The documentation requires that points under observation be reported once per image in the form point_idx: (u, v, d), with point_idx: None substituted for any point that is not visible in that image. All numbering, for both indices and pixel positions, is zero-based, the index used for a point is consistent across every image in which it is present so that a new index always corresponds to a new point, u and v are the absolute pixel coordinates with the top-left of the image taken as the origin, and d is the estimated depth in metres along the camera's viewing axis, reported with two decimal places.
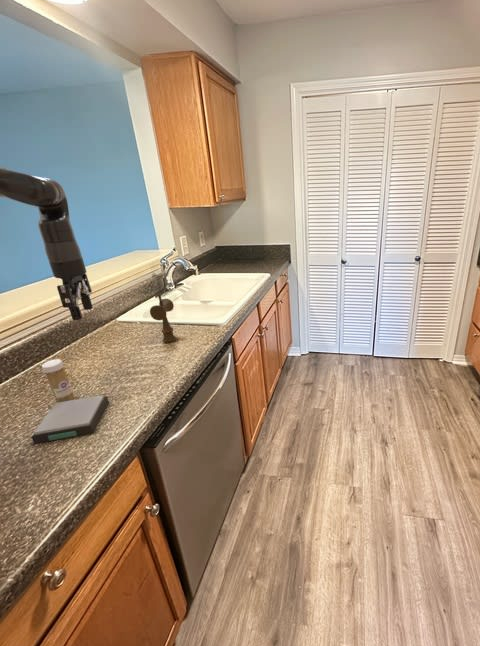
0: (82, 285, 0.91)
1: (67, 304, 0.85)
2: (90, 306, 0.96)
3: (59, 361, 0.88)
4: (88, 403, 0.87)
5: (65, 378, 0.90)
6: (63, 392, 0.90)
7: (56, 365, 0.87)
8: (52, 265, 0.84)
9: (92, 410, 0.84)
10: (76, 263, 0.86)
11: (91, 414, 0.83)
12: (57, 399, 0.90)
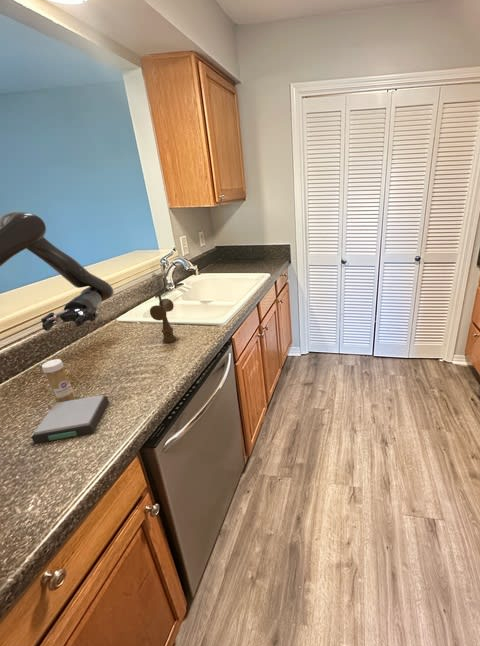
0: (69, 320, 1.03)
1: (93, 316, 1.02)
2: (48, 329, 0.96)
3: (59, 361, 0.88)
4: (88, 403, 0.87)
5: (65, 378, 0.90)
6: (63, 392, 0.90)
7: (56, 365, 0.87)
8: (88, 301, 1.09)
9: (92, 410, 0.84)
10: None
11: (91, 414, 0.83)
12: (57, 399, 0.90)
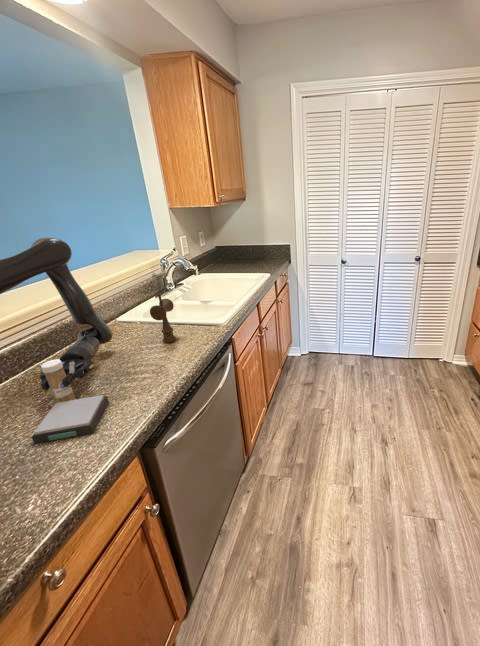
0: (66, 374, 0.96)
1: (82, 372, 0.94)
2: (48, 388, 0.89)
3: (58, 361, 0.88)
4: (88, 403, 0.87)
5: None
6: (63, 392, 0.90)
7: (55, 365, 0.87)
8: (85, 350, 1.02)
9: (92, 410, 0.84)
10: None
11: (91, 414, 0.83)
12: (57, 399, 0.90)
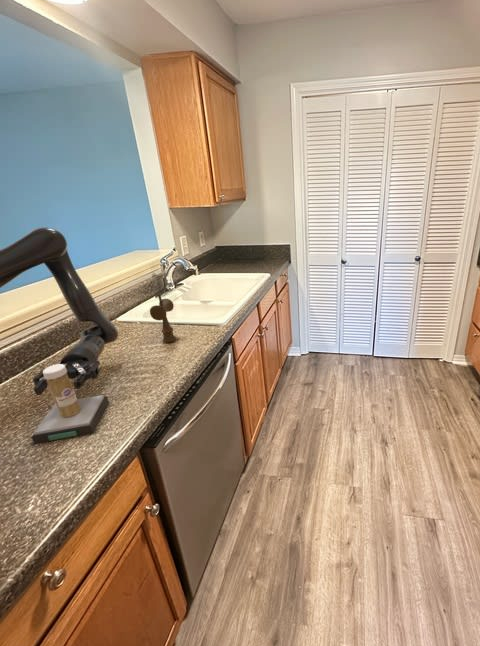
0: None
1: (95, 372, 0.85)
2: (41, 392, 0.80)
3: (62, 366, 0.79)
4: (88, 403, 0.87)
5: (69, 385, 0.81)
6: (67, 401, 0.81)
7: (59, 371, 0.78)
8: (89, 351, 0.93)
9: (92, 410, 0.84)
10: None
11: (91, 414, 0.83)
12: (60, 408, 0.81)
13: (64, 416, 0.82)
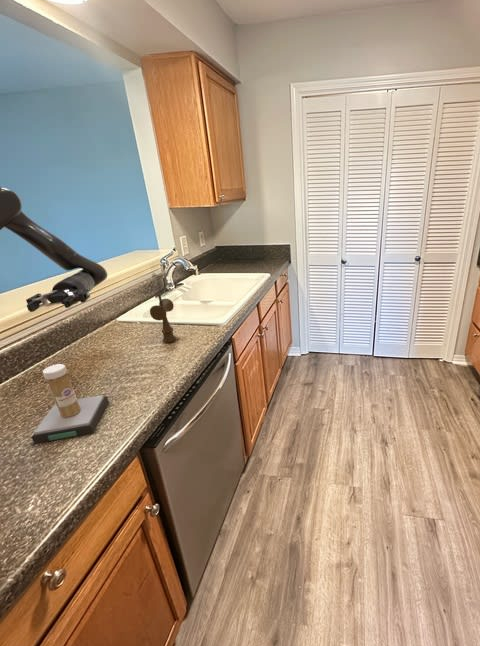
0: (58, 302, 0.94)
1: (83, 297, 0.93)
2: (34, 310, 0.87)
3: (62, 366, 0.79)
4: (88, 403, 0.87)
5: (69, 385, 0.81)
6: (67, 401, 0.81)
7: (59, 371, 0.78)
8: (79, 282, 1.00)
9: (92, 410, 0.84)
10: None
11: (91, 414, 0.83)
12: (60, 408, 0.81)
13: (64, 416, 0.82)
